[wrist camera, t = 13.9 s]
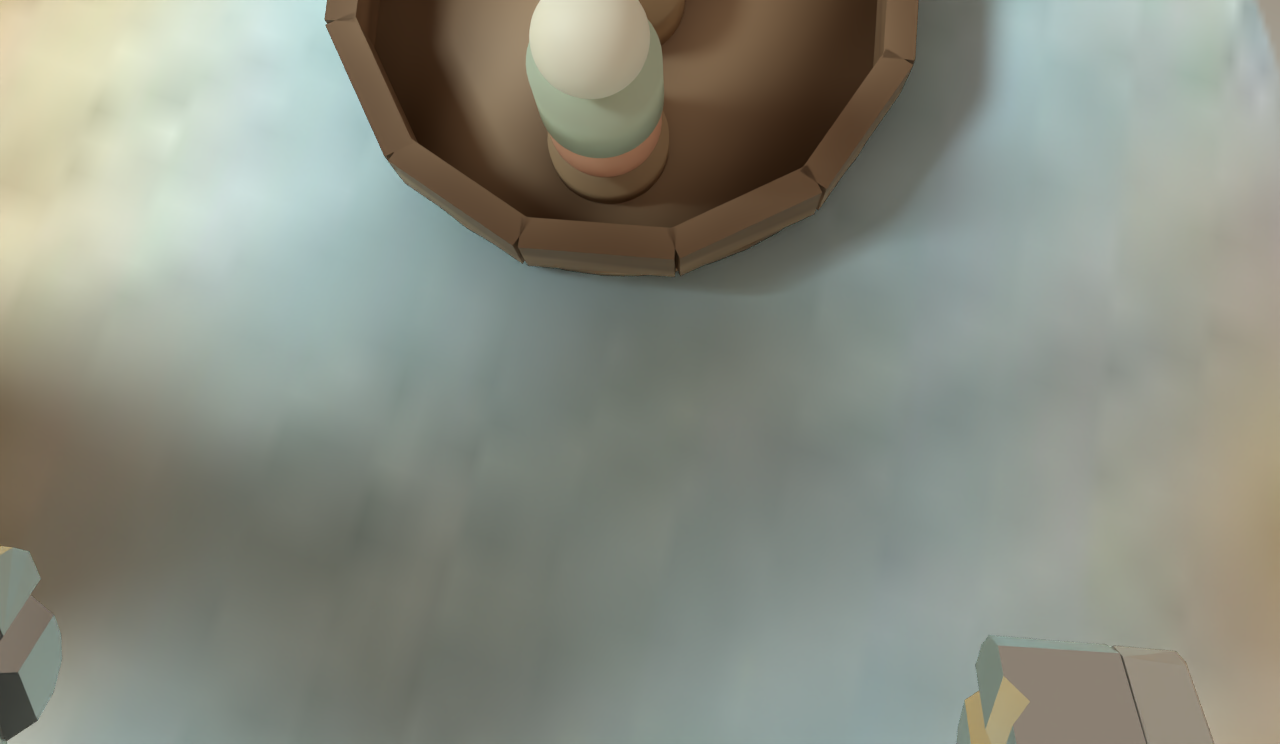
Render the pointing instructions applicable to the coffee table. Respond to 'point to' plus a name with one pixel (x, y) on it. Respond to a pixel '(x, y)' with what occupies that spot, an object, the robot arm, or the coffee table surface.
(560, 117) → the bead column
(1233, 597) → the coffee table surface
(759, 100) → the walnut tray
